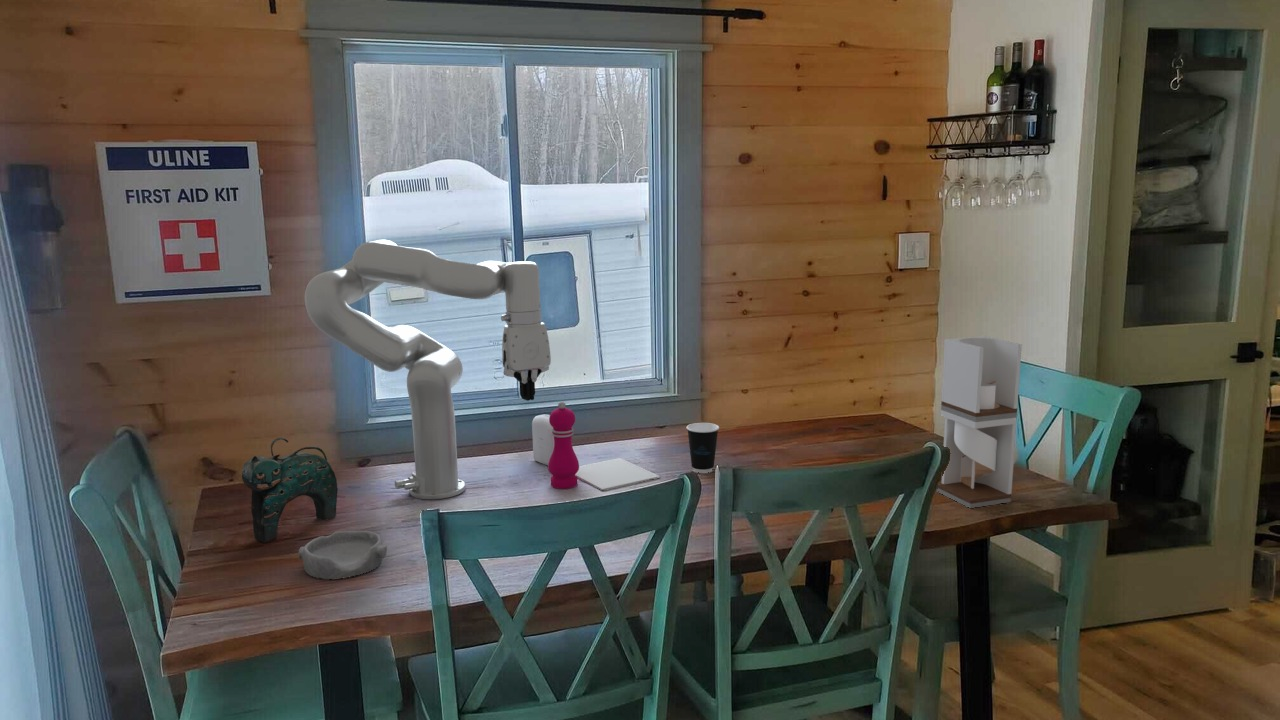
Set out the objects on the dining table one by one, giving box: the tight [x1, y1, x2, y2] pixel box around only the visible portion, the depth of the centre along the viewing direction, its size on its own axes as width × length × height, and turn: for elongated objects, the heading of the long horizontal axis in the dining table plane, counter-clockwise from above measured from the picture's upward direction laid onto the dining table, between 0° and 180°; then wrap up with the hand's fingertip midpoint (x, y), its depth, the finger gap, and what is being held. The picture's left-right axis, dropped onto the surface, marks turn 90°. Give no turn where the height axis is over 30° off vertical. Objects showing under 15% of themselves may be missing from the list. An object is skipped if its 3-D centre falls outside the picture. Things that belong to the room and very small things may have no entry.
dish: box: [298, 530, 388, 580], centre depth 171 cm, size 14×14×5 cm
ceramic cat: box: [241, 437, 339, 544], centre depth 188 cm, size 20×6×20 cm, turn 145°
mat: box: [575, 457, 661, 491], centre depth 222 cm, size 16×18×1 cm
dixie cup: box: [685, 422, 720, 474], centre depth 224 cm, size 8×8×11 cm
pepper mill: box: [547, 401, 580, 490], centre depth 213 cm, size 7×7×20 cm
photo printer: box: [531, 414, 554, 466], centre depth 231 cm, size 10×4×12 cm, turn 39°
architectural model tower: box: [936, 335, 1023, 509], centre depth 200 cm, size 11×11×35 cm
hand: (527, 399), depth 206 cm, fingers closed
